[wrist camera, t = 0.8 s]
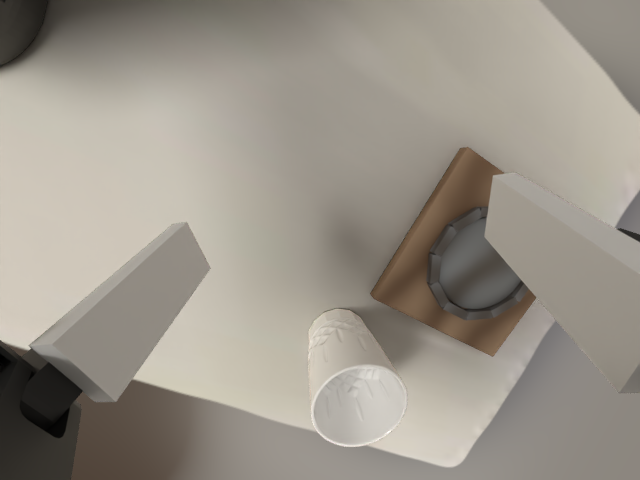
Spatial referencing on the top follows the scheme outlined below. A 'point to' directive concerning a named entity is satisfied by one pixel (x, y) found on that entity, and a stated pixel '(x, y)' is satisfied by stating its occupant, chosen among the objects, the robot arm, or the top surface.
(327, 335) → the white cup
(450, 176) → the coaster board
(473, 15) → the top surface
